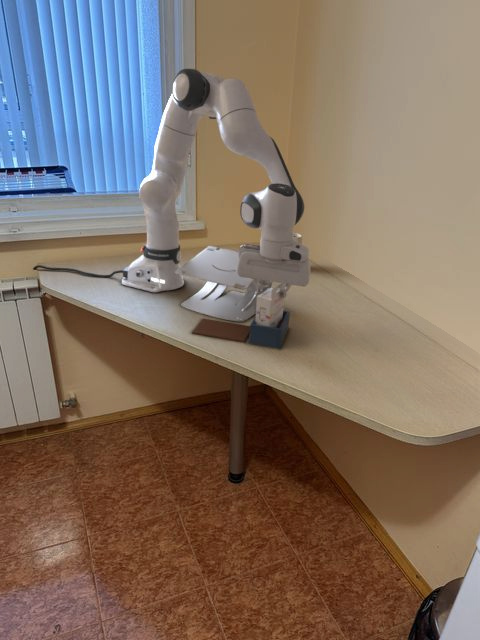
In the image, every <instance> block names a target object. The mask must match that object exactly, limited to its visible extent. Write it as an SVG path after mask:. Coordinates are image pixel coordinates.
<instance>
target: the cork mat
mask: <svg viewBox="0 0 480 640" xmlns="http://www.w3.org/2000/svg"><path fill="white" fill-rule="evenodd" d="M191 334H192V335H199V336H204V337H210V338H214V339H215V338H216V339H222V340H227V341H232V342H233V341H234V342H239V343H246V342H245V341H246V340H247V338H248V337H249V334H250V325H248V324H247V325H246V324H240V323H233V322H228V321H222V320H215V319H209V318H205V317H204V318H201V320H200V321H199V322H198V324H197V325H196V326H195V328H194V329H193V330H192V331H191Z"/></svg>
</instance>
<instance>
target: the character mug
mask: <svg viewBox="0 0 480 640" xmlns="http://www.w3.org/2000/svg"><path fill="white" fill-rule="evenodd" d="M293 235H294V239H293V241H295V242H297V243H299V244H301V245H303V244H302V243H303V235H302V234H300V233H296V232H293Z"/></svg>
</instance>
